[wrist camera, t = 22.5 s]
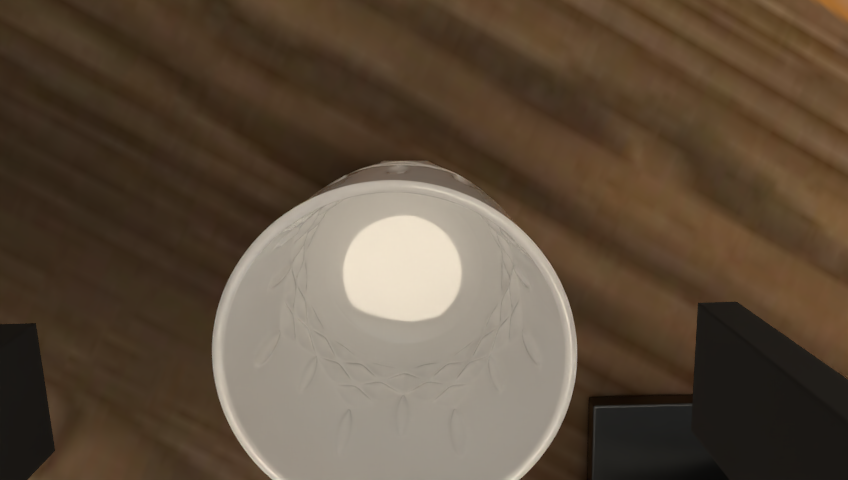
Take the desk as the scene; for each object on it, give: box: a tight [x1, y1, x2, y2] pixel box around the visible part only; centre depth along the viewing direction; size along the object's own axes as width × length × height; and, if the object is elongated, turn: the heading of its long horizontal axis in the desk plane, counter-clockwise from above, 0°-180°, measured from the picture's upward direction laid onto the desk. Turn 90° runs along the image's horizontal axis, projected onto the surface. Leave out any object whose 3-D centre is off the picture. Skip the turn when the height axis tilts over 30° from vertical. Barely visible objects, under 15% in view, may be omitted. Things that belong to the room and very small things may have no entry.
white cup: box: [212, 161, 577, 480], centre depth 21 cm, size 8×8×10 cm
